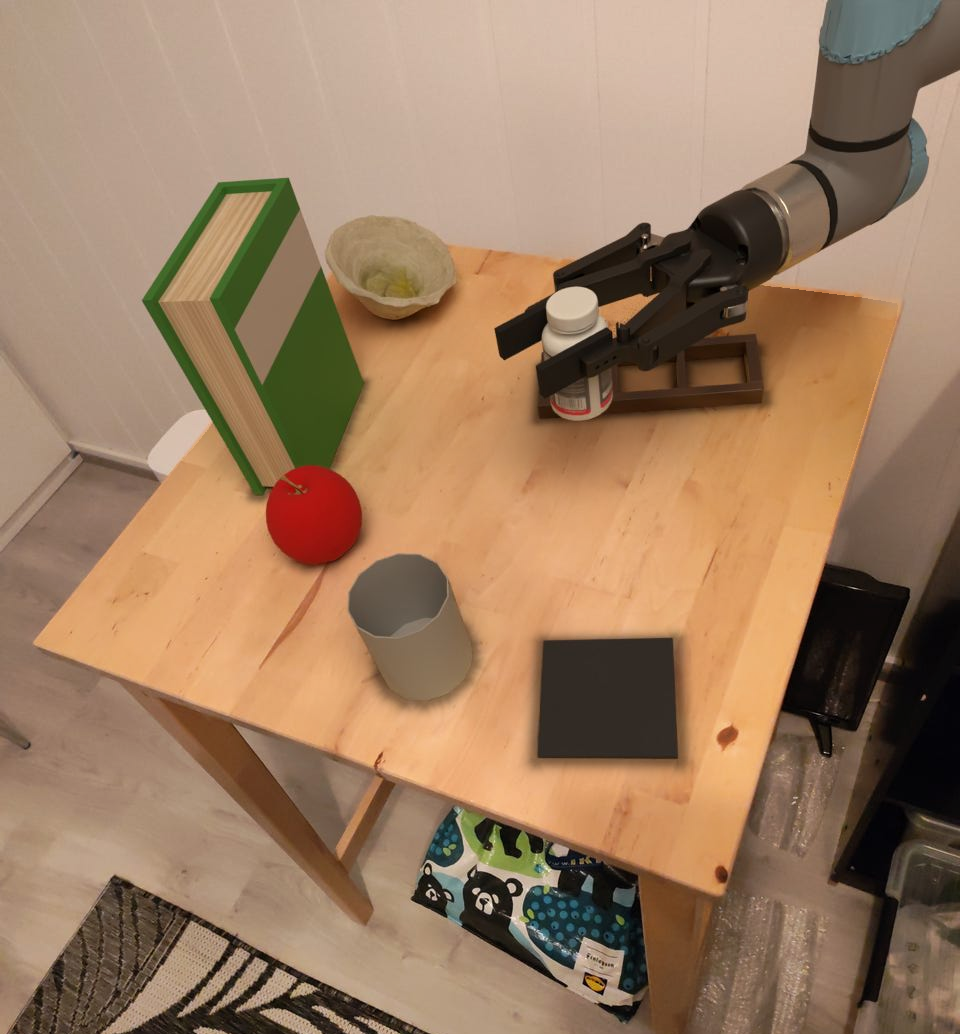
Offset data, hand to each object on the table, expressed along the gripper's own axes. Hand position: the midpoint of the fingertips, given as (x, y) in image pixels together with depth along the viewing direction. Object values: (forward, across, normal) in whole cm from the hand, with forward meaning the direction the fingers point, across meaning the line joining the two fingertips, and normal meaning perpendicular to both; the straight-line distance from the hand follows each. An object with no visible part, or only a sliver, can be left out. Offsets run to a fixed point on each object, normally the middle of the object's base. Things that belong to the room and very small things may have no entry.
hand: (519, 362), depth 65 cm
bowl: (-5, +40, -19) cm, 44 cm away
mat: (+7, -19, -19) cm, 28 cm away
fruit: (+19, +12, -19) cm, 29 cm away
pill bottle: (-5, 0, -7) cm, 9 cm away
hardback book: (+14, +27, -19) cm, 36 cm away
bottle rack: (-19, +9, -19) cm, 28 cm away
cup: (+17, -7, -19) cm, 27 cm away
